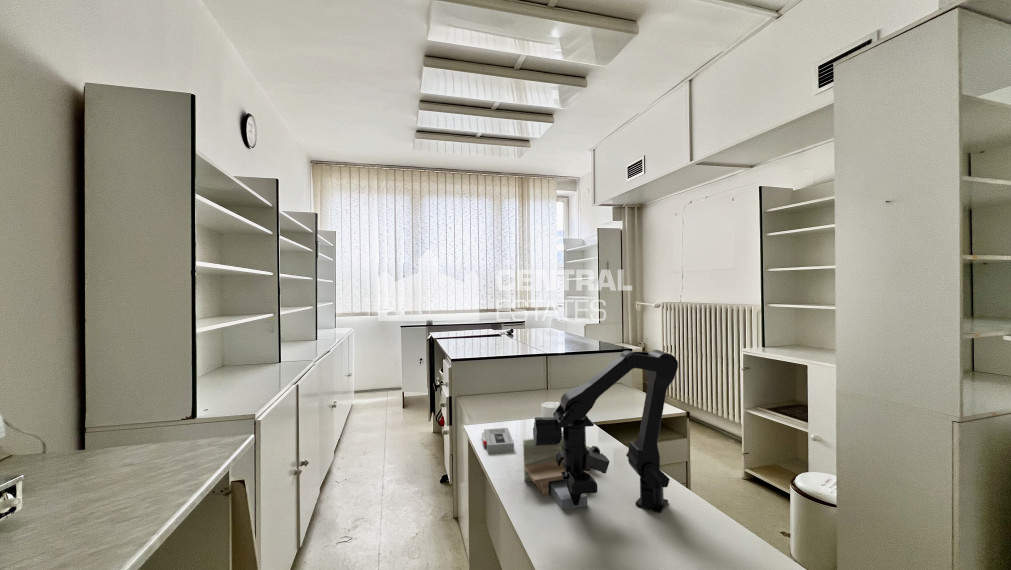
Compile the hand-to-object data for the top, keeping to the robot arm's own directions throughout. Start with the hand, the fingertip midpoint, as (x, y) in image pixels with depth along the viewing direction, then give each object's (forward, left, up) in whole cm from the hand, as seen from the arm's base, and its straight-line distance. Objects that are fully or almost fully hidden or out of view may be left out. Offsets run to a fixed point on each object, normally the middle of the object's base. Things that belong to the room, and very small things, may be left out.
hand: (575, 504), depth 107 cm
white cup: (-45, -36, -2) cm, 57 cm away
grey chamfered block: (-6, -7, -1) cm, 9 cm away
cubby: (-8, -10, -1) cm, 13 cm away
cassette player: (-26, -41, 0) cm, 48 cm away
